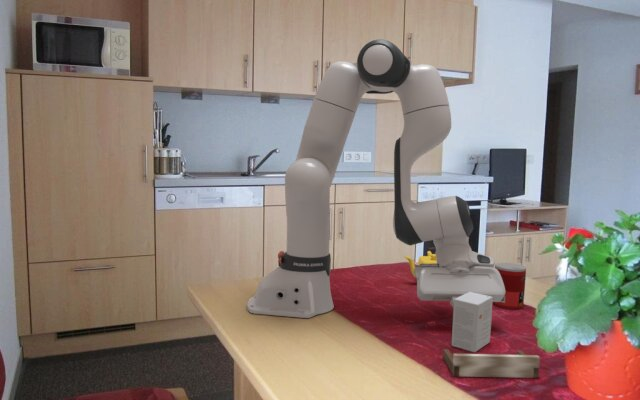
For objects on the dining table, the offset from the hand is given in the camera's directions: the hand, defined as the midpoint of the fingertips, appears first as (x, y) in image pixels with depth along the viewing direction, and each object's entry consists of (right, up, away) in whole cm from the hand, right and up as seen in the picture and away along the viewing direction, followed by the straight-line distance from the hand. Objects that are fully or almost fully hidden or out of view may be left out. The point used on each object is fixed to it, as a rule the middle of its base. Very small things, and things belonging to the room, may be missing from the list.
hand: (465, 316), depth 118 cm
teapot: (+2, 0, +43) cm, 43 cm away
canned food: (+18, -2, +24) cm, 30 cm away
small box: (0, -5, -5) cm, 7 cm away
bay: (0, -6, -17) cm, 18 cm away
